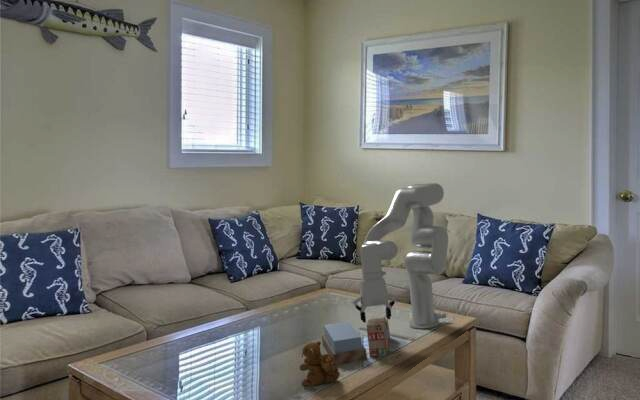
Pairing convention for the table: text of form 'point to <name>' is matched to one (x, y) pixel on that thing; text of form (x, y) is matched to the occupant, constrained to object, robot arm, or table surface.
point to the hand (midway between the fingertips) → (376, 320)
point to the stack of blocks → (378, 335)
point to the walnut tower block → (344, 354)
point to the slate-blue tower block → (342, 337)
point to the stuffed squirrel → (318, 366)
